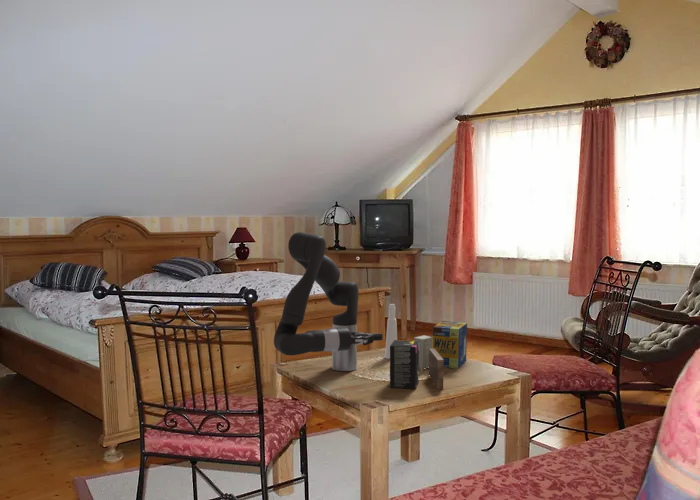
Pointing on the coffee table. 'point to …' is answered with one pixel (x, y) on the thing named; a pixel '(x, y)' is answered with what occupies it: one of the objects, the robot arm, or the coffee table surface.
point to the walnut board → (436, 368)
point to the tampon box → (404, 364)
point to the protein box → (450, 342)
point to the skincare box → (424, 350)
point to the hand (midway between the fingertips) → (381, 336)
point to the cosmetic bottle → (391, 330)
